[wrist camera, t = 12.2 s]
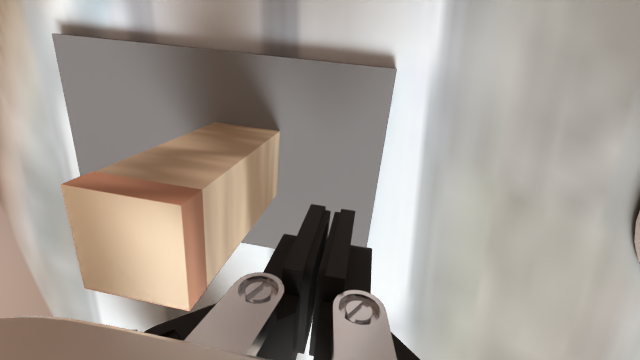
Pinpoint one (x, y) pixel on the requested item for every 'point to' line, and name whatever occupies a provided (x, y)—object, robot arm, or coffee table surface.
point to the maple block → (172, 212)
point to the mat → (235, 117)
